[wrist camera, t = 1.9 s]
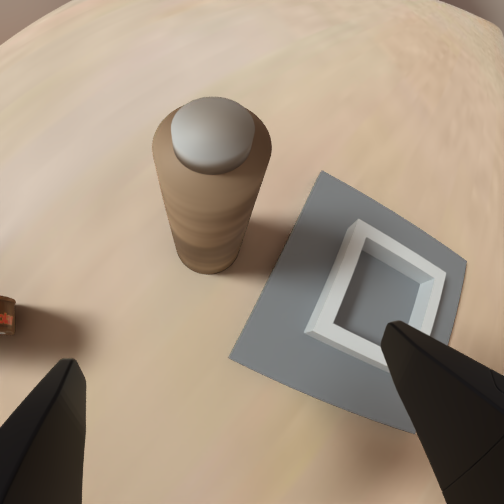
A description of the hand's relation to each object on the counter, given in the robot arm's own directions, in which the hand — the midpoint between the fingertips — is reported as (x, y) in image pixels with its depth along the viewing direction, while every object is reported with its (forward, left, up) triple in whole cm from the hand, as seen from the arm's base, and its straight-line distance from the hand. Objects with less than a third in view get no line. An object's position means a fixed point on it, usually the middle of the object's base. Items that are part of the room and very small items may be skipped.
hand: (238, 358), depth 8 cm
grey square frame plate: (+8, -9, -13) cm, 18 cm away
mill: (+7, +4, -13) cm, 16 cm away
